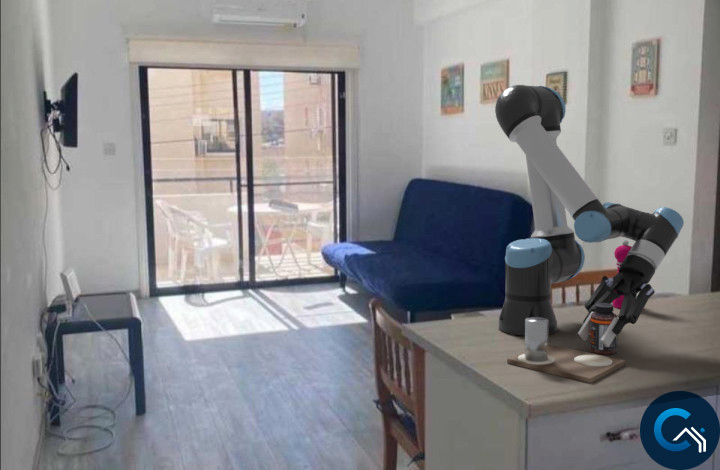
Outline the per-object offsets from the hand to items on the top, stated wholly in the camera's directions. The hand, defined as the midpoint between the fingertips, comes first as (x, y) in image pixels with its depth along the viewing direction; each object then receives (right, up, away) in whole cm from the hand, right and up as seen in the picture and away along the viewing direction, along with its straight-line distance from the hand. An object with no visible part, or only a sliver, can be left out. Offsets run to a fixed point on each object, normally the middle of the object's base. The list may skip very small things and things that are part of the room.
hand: (592, 340), depth 162 cm
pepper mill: (+24, +3, +46) cm, 52 cm away
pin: (-14, -4, -5) cm, 16 cm away
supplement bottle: (+3, -3, +2) cm, 5 cm away
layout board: (-8, -4, -6) cm, 11 cm away
